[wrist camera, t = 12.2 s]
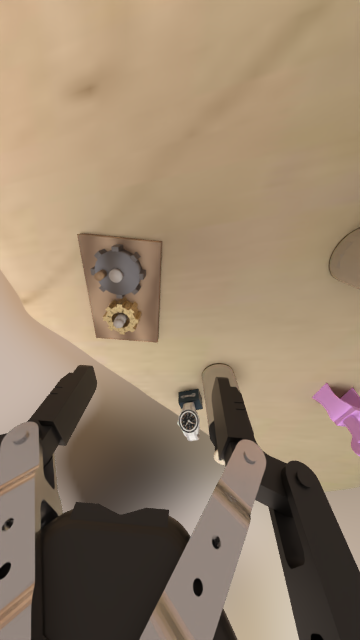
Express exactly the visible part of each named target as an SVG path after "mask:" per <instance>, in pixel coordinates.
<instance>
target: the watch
mask: <svg viewBox="0 0 360 640" xmlns="http://www.w3.org/2000/svg"><path fill="white" fill-rule="evenodd" d="M178 403H179V405H180V407H181V413H180V416H179V421H177V423H178V425H179V426H180V428H181V429H182V431H183V433H184V435H185V436H187V439H188V440H189V441H192V440H199V422H200V421H199V416H198V414H197V412H196V410H199V409H203V407H202V398H201V395H200V393H199V390H198V389H194V390H189V391H184V392H179V402H178Z"/></svg>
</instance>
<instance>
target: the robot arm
mask: <svg viewBox="0 0 360 640" xmlns="http://www.w3.org/2000/svg"><path fill="white" fill-rule="evenodd" d="M330 272H331V274H332V276H333V277H334V278H335V279H337V280H339V281H341V282H344V283H346V284H349V285H351V286H354V287H356V288H358V289H360V228H359V229H357V230H355V231H353V232H352V233H350V234H349V235H347V236H346V237H345V238H344V239H343V240H342V241H341V242H340V243H339V245H338V246H337V247H336V249H335V250H334V252H333V254H332V256H331V259H330ZM96 387H97V380H96V376H95V372H94V368H93V366H87V365H79V366H78V367H77V368H76V370H75V371H74V372H73V373H68V374H67V375H66V376H64V377H63V378H62V379H61V380H60V381H59V382H58V384H57V385H56V386H55V388H54V389H53V390H52V391H51V392H50V394H49V395H48V396H47V398H46V399H45V400H44V401H43V403H42V404H41V405H40V406H39V408H38V409H37V410H36V412H35V413H34V414H33V415H32V417H31V418H30V419H29V420H28V421H27V422H25V423H22V424H20V425H18V426H16V427H14V428H13V429H12V430H11V431H9V432H8V433H7V434H3V435H0V640H237V638H236V636H235V633H234V631H233V629H232V626H231V624H230V622H229V620H228V618H227V616H226V613H225V611H224V609H223V606H224V603H225V600H226V597H227V593H228V590H229V587H230V584H231V581H232V578H233V575H234V572H235V568H236V566H237V562H238V559H239V556H240V553H241V550H242V547H243V544H244V541H245V537H246V534H247V531H248V528H249V524H250V519H251V518H250V514H251V510H252V507H253V504H254V501H255V500H257V501H259V502H261V503H263V504H264V505H266V506H268V507H269V511H270V515H271V520H272V524H273V528H274V533H275V537H276V541H277V546H278V550H279V554H280V559H281V563H282V567H283V572H284V576H285V580H286V585H287V589H288V593H289V597H290V602H291V606H292V610H293V615H294V619H295V623H296V627H297V631H298V636H299V640H360V572H359V570H358V567H357V565H356V563H355V561H354V558H353V556H352V554H351V552H350V549H349V547H348V545H347V542H346V540H345V538H344V536H343V533H342V531H341V529H340V527H339V524H338V522H337V520H336V518H335V516H334V513H333V511H332V509H331V507H330V505H329V502H328V500H327V498H326V495H325V493H324V491H323V489H322V486H321V484H320V482H319V480H318V478H317V477H316V475H315V474H314V472H313V471H312V470H311V469H310V468H309V467H307V466H306V465H305V464H303V463H301V462H299V461H290V462H289V463H288V464H287V463H284V462H282V461H280V460H278V459H275V458H273V457H271V456H269V455H268V454H266V453H265V452H264V451H263V450H262V449H261V448H260V447H259V446H258V444H257V443H256V441H255V438H254V435H253V432H252V428H251V425H250V421H249V418H248V415H247V411H246V408H245V405H244V401H243V398H242V394H241V393H240V392H239V390H238V389H237V387H231V386H230V383H229V379H228V378H227V377H216V378H215V382H214V386H213V390H212V408H213V416H214V424H215V432H216V440H217V448H218V456H219V459H222V460H225V467H226V468H225V470H224V472H223V474H222V476H221V478H220V480H219V482H218V484H217V485H216V487H215V489H214V491H213V493H212V495H211V497H210V499H209V501H208V504H207V505H206V508H205V509H204V511H203V513H202V515H201V518H200V519H199V522H198V523H197V525H196V528H195V530H194V531H193V533H192V535H191V537H190V535H189V534H188V532H187V531H186V530H185V528H184V527H183V526H182V525H181V524H180V523H179V522H178V521H176V520H175V519H174V518H172V517H170V516H169V510H165V509H153V508H144V509H141V510H137V511H134V512H130V513H127V514H123V515H119V514H117V513H115V512H113V511H111V510H109V509H107V508H106V507H104V506H102V505H100V504H93V503H81V502H76V504H75V506H74V509H72V510H70V511H67V512H65V513H63V510H62V504H61V500H60V496H59V493H58V485H57V474H56V462H55V453H54V452H55V450H56V448H57V446H58V445H64V446H66V445H67V443H68V441H69V439H70V437H71V435H72V433H73V431H74V429H75V428H76V426H77V424H78V422H79V420H80V418H81V416H82V415H83V413H84V411H85V409H86V407H87V405H88V403H89V402H90V400H91V398H92V396H93V394H94V392H95V390H96Z"/></svg>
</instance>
